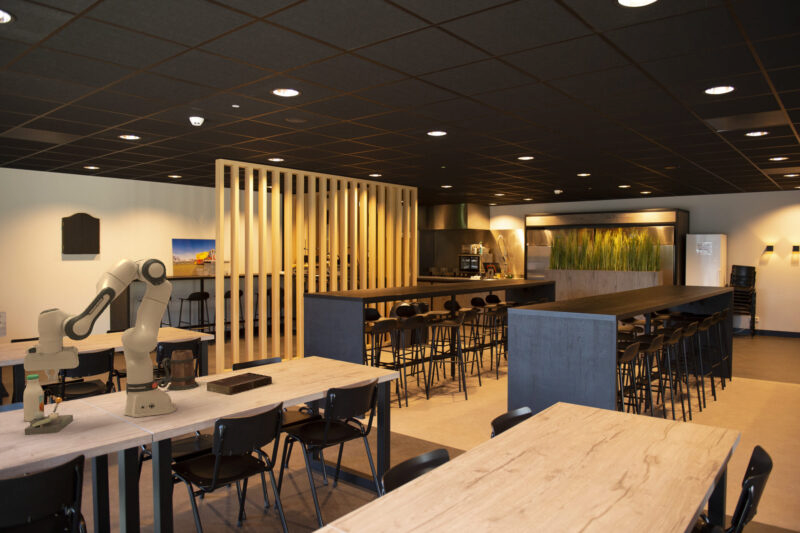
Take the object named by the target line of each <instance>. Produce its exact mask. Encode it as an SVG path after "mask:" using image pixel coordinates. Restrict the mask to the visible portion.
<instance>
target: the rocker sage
mask: <svg viewBox="0 0 800 533" xmlns="http://www.w3.org/2000/svg"><path fill="white" fill-rule="evenodd" d="M51 420H52V418H48V419H45V420H42V421H39V422H36V423H34V424H32V426H33V427H35V426H38V425H41V424H44V423H47V422H50V421H51Z"/></svg>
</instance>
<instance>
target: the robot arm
mask: <svg viewBox="0 0 800 533" xmlns="http://www.w3.org/2000/svg"><path fill="white" fill-rule="evenodd" d="M167 277H168V276H167V267H166V265H165V263H164V262H162V260H160V259H158V258H145V259H139V260H137V261H133V260H132V259H130V258H127V257H122V258H120V259H119V260H117V261H116V262H114V263H113V264H112V265H111V266H110V267H109V268H107V270H105V272H104V273H103V274H102V275H101V277H100V278H99V279H98V281H97V283H96V284H95V286H96V287H95V288H96V292H95V293H96V294H95V295H94V298H93V299H92V301H91V302H89V304H88V305H87V306H86V307H85V308H84V310H83V311H82V312H81V313H79V314H78V315H77V314H74V313H73V314H72V313H70V312H66V311H64V310H62V309H60V308H55V307H54V308H49V309H46V310H43V311H41V312H40V313H39V315H38V318H37V332H38V334H39V335H38V344H36V345H35V344H34V345H32V346H30V347H28V348H26V349H25V353H26V355H25V356H24V360H23V369H24V371H26V372H31V371H32V372H34V371H44V374H45V375H46V376H47V380H48V381H56V380H57V379H58V374H60V373H59V372H60V371H61V370H64V369H65V370H67V369H68V370H69V369H75V368H77V367H79V364H80V361H79V356H78V355H79V348H77V347H75V346H74V345H71V346H64V337H68V338H69V339H70V340H72V341H82V340H86V339H87V338H88V337H89V336H90V335H91V334H92V332H93V329H94V325H95V324H96V322H97V321H98V319H99V318H100V316H101V315H102V314H103V313H104V312H105V310H106V309H107V308H108V307H109V305H110V304H111V303H112V302H113V301H114V300H116V298H117V297H119V296H120V295H121V294H122V293H123V292H124V290H125V289H127V288H128V286H129V285H130V283H131V282H133V281H134V280H136V281H139V282H143V283H146V292H145V294H144V295H143V298H142V301H141V302H140V305H139V307H138V310H137V312H136V320H135V324H134V327H130V328H127V329H126V330H124V332H122V335H121V339H120V340H121V343H122V349H123V355H124V359H125V365H126V383H125V393H126V404H125V409H124V413H123V415H125V416H129V417H132V418H140V417H141V418H143V417H149V416H157V415H158V416H159V415H167V414H171V413H174V412H175V411H176V410H177V409H178V408H177V404H175V403H173V402H172V399H171V395H170V394H169V393H167V392H165V391H164V390H162V389H160V387H159V386H158V381H159V380H155V379H154V367H153V366H154V365H153V364H154V363H153V360H152V359H151V355H150V353H151V352H153V351H154V350H155V349H156V348H157V346H158V336H159V331H160V326H161V323H162V319H163V316H164V314H165V311H166V309H167V308H168V307H167V306H168V305H169V302H170V299H171V298H170V297H171V295H172V290H173V284H172V283H171V281H169V280H168V278H167ZM52 370H53V372H55V373H54V374H53V375H52V374H51V373H50V372H51V371H52Z"/></svg>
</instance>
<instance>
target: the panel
mask: <svg viewBox="0 0 800 533" xmlns="http://www.w3.org/2000/svg"><path fill="white" fill-rule="evenodd" d="M59 413H60V412H55V413H54V412H52V413H50V414H58V418H57V419H52V420H51V421H50V422H47V423H44V424H41V425H38V426H35V427H33V426H32V424H34V423H36V422H39V421H42V420H45V419H48V418H49V415H50V414H48V415H47V416H45V415H44V418H43V419H38V420H36V419H35V418H34V419H33V420H31V421H29V423H30V424H29V425H28V426H27V427H25V428H24V435H25V436H28V435H40V434H55V433H58V432H60V431H61V430H62V429H63V428H65V427H66V426H68V425H69V424H70V423H71V422H72V420H73V421H74V414H61V415H60V414H59Z"/></svg>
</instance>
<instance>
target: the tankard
mask: <svg viewBox="0 0 800 533" xmlns="http://www.w3.org/2000/svg"><path fill="white" fill-rule="evenodd" d="M194 360H195V357H194V355H193V350H191V349H183V350H181V349H179V350H178V349H177V350H174V351H172V353H171V358H169V357H168V358H167V357H165V358H163V359H162V360H161V364H162V367H163V370H164V371H165V372H164V373H165V380H163V379H159V380H157V381H158V388H162V389H165V388H166V390H168V391H173V392H178V391H180V392H181V391H182V392H183V391H188V390H189V391H190V390H194V389H196V388H199V387H200V384H199V383H198V382H197V381H196V374H195V361H194ZM169 368H170V371H169ZM169 382H170V383H169Z"/></svg>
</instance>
